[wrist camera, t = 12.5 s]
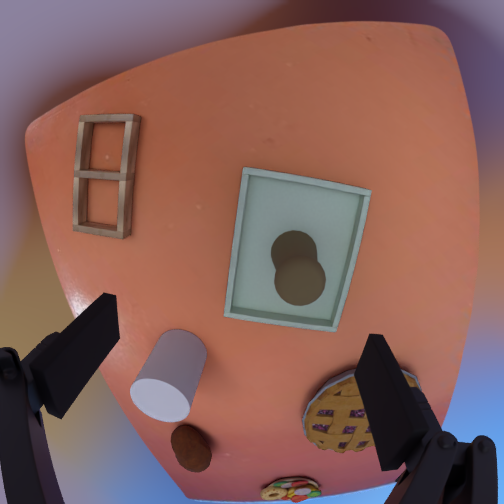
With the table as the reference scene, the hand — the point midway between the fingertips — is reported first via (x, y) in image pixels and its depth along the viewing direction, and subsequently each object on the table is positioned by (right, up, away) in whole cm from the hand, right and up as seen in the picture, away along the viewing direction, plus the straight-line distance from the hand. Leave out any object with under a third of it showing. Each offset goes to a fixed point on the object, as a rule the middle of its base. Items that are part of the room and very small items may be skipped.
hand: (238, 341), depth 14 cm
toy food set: (+11, -53, +42) cm, 69 cm away
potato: (-11, -33, +38) cm, 52 cm away
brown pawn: (+6, +4, +25) cm, 26 cm away
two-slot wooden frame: (-20, +15, +23) cm, 34 cm away
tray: (+6, +4, +25) cm, 26 cm away
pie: (+20, -23, +33) cm, 45 cm away
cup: (-10, -11, +31) cm, 35 cm away
